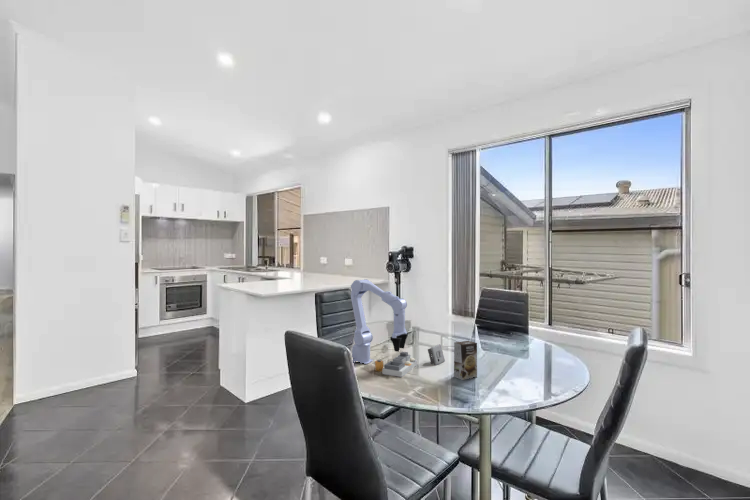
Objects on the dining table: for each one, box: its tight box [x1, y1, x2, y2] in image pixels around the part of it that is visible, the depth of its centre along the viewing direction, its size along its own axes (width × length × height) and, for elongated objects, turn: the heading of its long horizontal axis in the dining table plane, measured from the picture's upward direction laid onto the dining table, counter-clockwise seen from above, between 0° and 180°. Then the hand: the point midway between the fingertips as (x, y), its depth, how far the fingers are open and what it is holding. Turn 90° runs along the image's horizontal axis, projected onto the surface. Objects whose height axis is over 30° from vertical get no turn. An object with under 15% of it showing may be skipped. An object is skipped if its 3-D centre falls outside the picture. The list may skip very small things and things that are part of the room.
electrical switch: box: [427, 344, 446, 366], centre depth 196 cm, size 9×5×9 cm, turn 141°
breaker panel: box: [381, 354, 418, 378], centre depth 184 cm, size 10×22×5 cm, turn 155°
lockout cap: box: [374, 359, 384, 372], centre depth 182 cm, size 4×4×5 cm
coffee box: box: [453, 340, 478, 381], centre depth 172 cm, size 9×6×16 cm
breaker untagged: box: [399, 351, 409, 357], centre depth 191 cm, size 3×3×2 cm
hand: (399, 349), depth 185 cm, fingers open, 6 cm apart
